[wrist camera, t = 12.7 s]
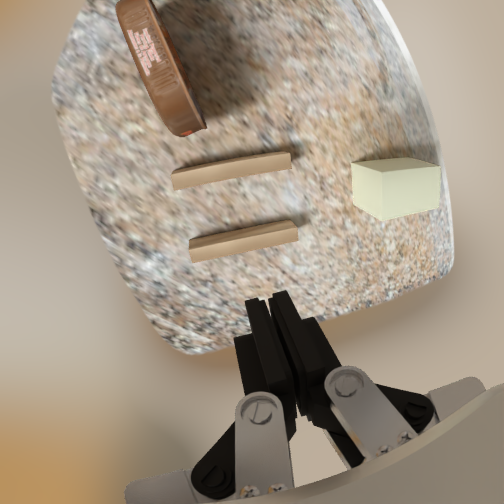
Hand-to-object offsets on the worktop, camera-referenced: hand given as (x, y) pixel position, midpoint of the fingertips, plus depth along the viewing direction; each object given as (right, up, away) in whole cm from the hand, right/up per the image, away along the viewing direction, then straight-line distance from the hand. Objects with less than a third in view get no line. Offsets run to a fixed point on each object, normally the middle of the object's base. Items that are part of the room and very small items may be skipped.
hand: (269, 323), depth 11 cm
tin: (-9, +20, +10) cm, 24 cm away
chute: (-2, +8, +17) cm, 19 cm away
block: (+15, +12, +19) cm, 27 cm away
